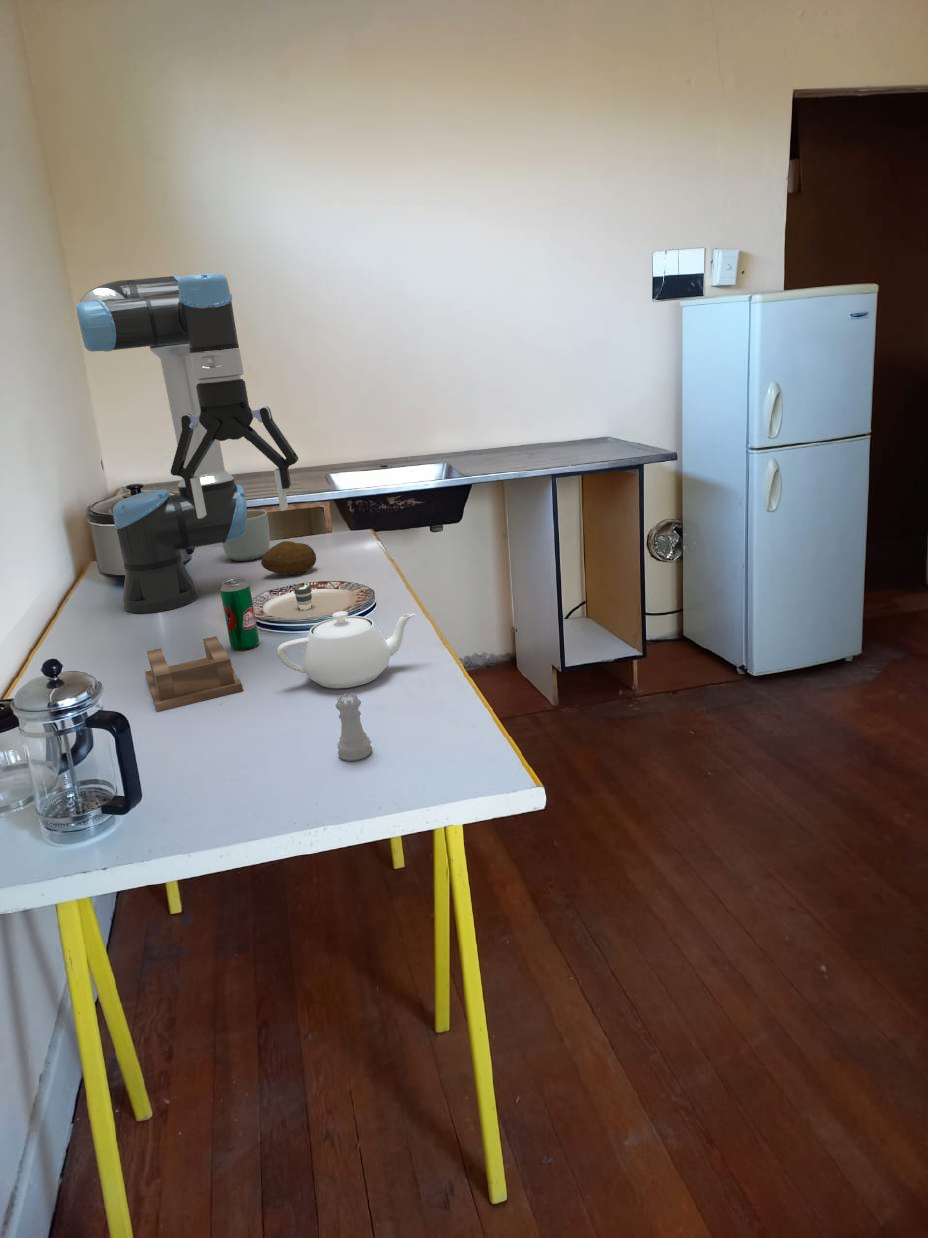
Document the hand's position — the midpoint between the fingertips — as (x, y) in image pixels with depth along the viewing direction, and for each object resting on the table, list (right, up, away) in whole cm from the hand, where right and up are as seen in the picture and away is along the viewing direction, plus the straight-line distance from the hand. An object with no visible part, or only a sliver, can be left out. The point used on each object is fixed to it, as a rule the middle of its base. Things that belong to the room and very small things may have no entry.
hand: (243, 513), depth 146 cm
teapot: (+19, -27, -6) cm, 33 cm away
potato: (-3, -7, +57) cm, 58 cm away
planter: (-18, -2, +76) cm, 78 cm away
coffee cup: (+5, -16, +32) cm, 36 cm away
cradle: (-7, -28, -3) cm, 29 cm away
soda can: (-3, -22, +13) cm, 26 cm away
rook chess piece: (+22, -35, -31) cm, 52 cm away
